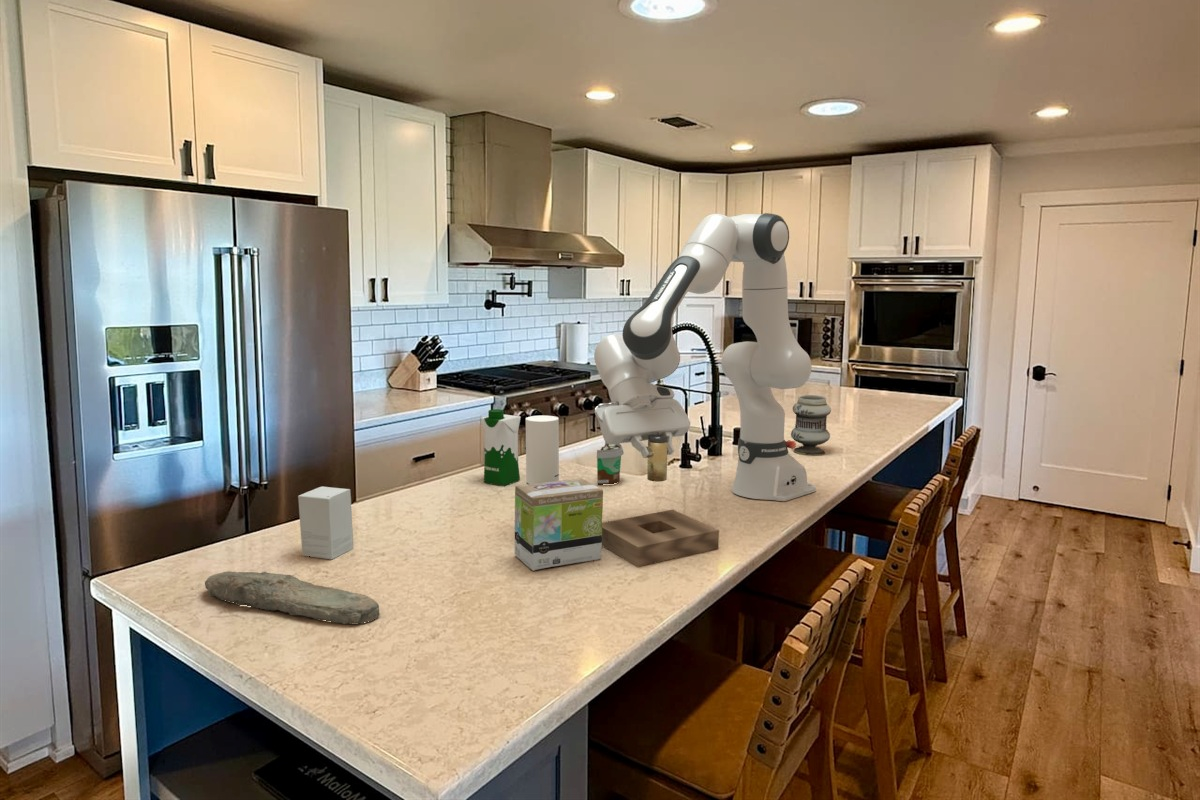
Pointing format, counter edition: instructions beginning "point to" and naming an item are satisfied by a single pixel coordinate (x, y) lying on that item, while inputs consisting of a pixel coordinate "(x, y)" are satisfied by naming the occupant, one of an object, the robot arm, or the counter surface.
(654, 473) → the spice jar
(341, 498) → the supplement box
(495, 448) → the milk carton
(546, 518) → the tea box
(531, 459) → the cylindrical container
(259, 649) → the counter surface
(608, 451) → the food container
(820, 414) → the apothecary jar
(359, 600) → the elongated rock
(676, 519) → the socket block
